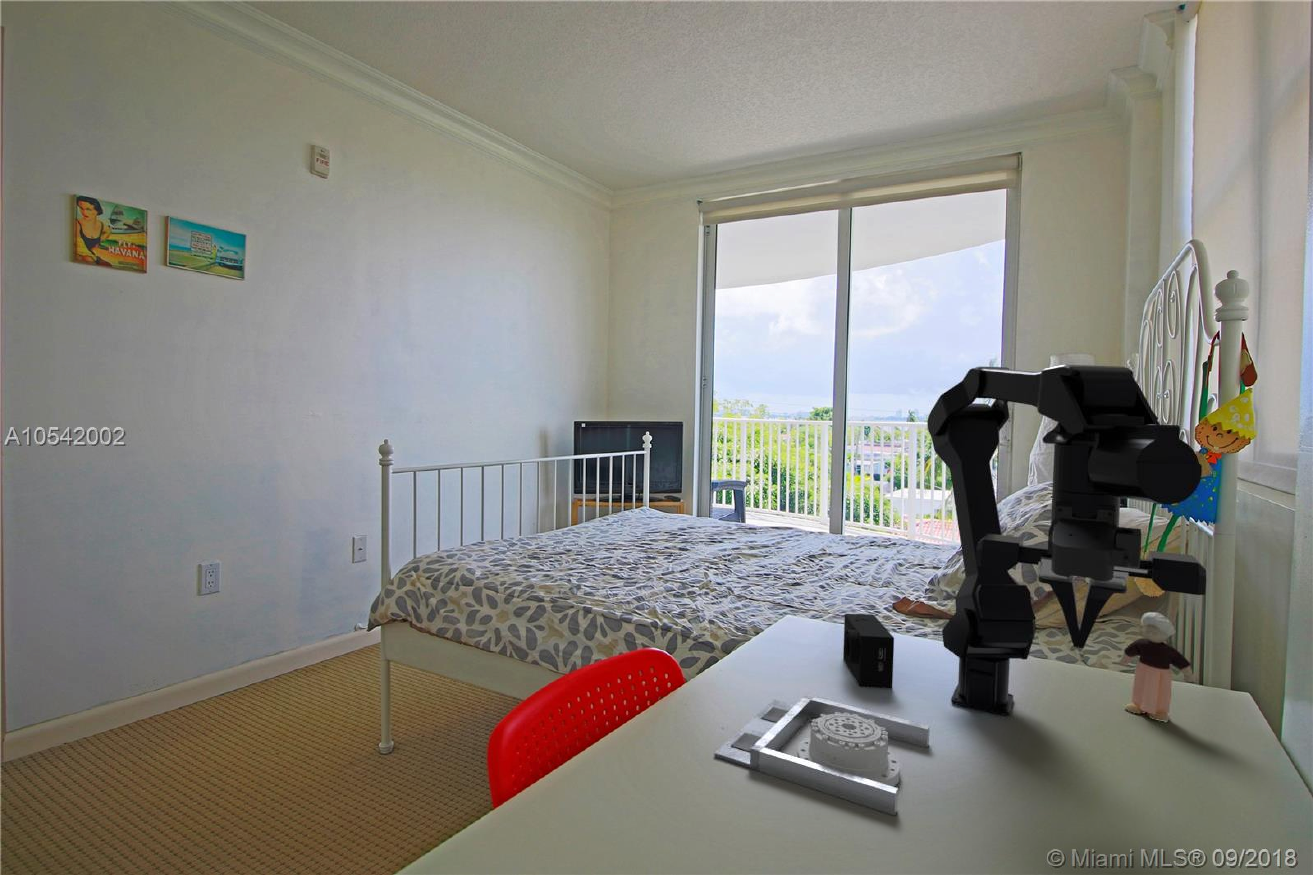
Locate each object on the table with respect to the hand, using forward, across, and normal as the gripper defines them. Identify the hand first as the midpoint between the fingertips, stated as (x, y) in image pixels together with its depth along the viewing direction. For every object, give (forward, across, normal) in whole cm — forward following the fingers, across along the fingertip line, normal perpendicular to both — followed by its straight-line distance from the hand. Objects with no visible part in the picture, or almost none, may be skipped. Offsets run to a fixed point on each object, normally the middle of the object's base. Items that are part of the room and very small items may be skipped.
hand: (1078, 646), depth 67 cm
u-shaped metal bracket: (+13, -22, -10) cm, 28 cm away
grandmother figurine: (+13, +8, +22) cm, 27 cm away
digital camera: (+13, -25, +15) cm, 32 cm away
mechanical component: (+14, -19, -12) cm, 26 cm away
